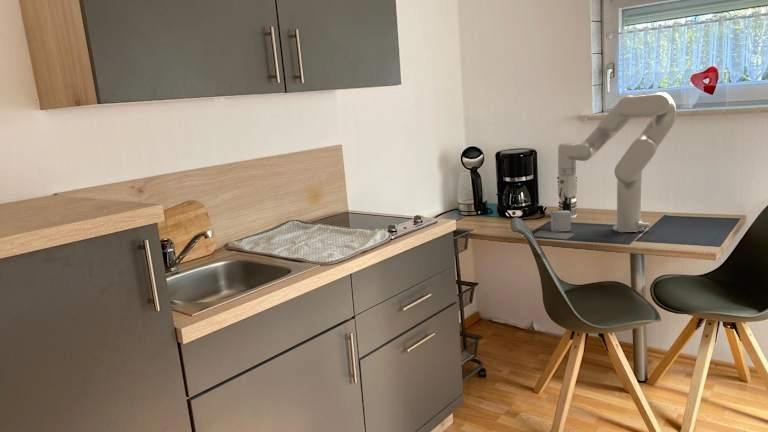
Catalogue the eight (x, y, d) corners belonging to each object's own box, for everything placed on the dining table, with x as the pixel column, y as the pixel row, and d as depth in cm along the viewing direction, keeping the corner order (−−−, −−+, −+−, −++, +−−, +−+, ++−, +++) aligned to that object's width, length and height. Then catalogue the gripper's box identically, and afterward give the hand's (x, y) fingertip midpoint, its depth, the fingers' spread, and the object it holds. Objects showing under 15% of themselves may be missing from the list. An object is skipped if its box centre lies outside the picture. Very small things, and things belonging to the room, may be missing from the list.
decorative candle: (571, 218, 290) (570, 166, 285) (554, 216, 297) (553, 165, 292) (581, 215, 296) (580, 164, 291) (564, 213, 303) (563, 163, 297)
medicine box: (568, 229, 272) (569, 210, 270) (570, 231, 267) (571, 212, 266) (550, 229, 273) (550, 210, 271) (552, 232, 268) (552, 212, 267)
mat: (575, 234, 262) (575, 234, 262) (566, 239, 256) (566, 239, 256) (540, 231, 273) (540, 230, 273) (531, 235, 266) (531, 235, 266)
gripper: (568, 174, 262) (567, 215, 266) (581, 169, 273) (581, 209, 277) (551, 173, 267) (551, 214, 271) (565, 168, 278) (565, 207, 282)
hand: (566, 211), depth 274 cm, fingers closed
